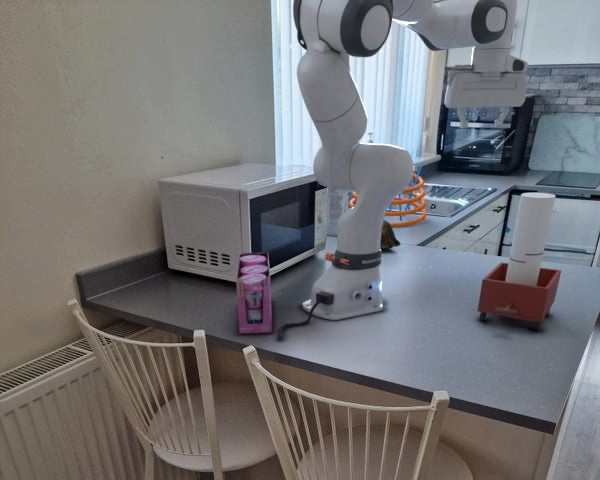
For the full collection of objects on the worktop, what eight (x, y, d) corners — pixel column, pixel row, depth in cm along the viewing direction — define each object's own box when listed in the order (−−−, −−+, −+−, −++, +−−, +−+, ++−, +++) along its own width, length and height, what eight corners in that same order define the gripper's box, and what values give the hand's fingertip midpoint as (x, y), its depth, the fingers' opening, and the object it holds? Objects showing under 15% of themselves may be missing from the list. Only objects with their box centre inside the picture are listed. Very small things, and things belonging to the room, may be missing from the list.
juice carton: (339, 237, 210) (341, 162, 196) (316, 234, 215) (316, 161, 201) (349, 232, 217) (351, 160, 203) (326, 230, 221) (327, 159, 208)
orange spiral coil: (436, 217, 244) (446, 161, 230) (406, 239, 220) (415, 178, 206) (368, 204, 259) (373, 151, 245) (333, 223, 235) (336, 165, 220)
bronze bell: (336, 224, 189) (379, 203, 192) (339, 249, 198) (380, 229, 201) (362, 249, 180) (407, 227, 182) (364, 274, 189) (406, 253, 192)
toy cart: (533, 342, 120) (543, 295, 115) (468, 330, 127) (475, 285, 122) (551, 312, 136) (561, 270, 131) (493, 303, 143) (500, 262, 138)
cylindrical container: (534, 308, 128) (558, 198, 116) (503, 306, 129) (523, 197, 117) (529, 298, 134) (552, 192, 122) (500, 296, 136) (519, 192, 123)
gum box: (272, 335, 126) (270, 279, 119) (238, 336, 126) (234, 280, 119) (271, 301, 147) (269, 251, 140) (242, 302, 147) (238, 252, 140)
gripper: (454, 64, 126) (447, 129, 133) (534, 63, 129) (523, 127, 136) (444, 65, 132) (437, 128, 139) (520, 64, 135) (510, 126, 142)
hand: (480, 127), depth 137 cm, fingers open, 8 cm apart
